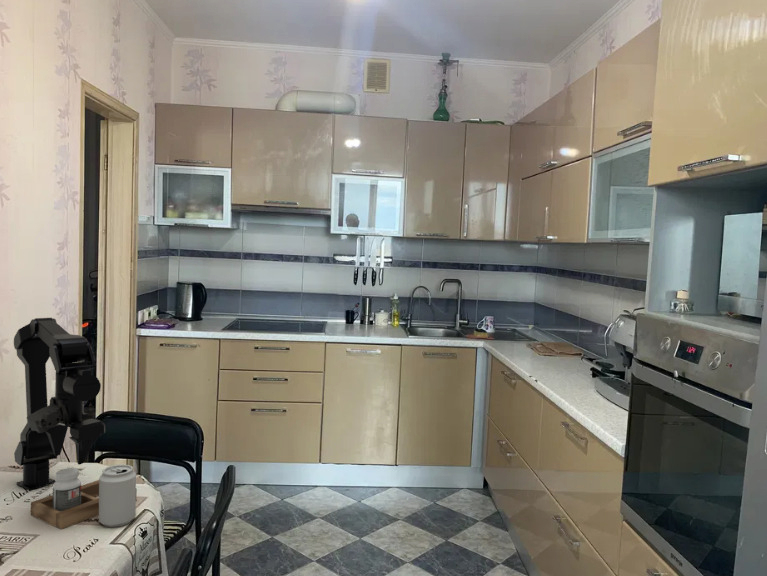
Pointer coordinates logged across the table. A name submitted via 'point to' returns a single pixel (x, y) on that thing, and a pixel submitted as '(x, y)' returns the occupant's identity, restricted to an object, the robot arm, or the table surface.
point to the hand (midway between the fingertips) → (68, 459)
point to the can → (117, 495)
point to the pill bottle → (66, 489)
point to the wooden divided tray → (70, 516)
